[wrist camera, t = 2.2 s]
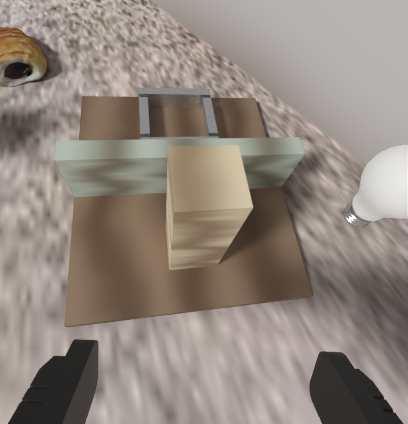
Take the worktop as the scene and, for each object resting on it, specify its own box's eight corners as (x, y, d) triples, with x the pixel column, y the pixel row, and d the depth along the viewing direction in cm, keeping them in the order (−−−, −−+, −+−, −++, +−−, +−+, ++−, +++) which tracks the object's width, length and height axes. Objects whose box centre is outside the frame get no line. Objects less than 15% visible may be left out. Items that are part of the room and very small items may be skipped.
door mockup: (253, 104, 39) (270, 56, 32) (308, 297, 27) (350, 281, 21) (84, 102, 35) (67, 48, 28) (68, 327, 23) (34, 318, 17)
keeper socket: (206, 101, 36) (209, 88, 34) (216, 154, 32) (219, 143, 31) (139, 101, 35) (138, 87, 33) (142, 156, 31) (140, 144, 29)
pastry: (-18, 45, 37) (-36, 15, 34) (36, 37, 39) (24, 7, 36) (-3, 93, 34) (-21, 64, 30) (55, 81, 36) (44, 53, 33)
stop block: (210, 222, 28) (238, 145, 18) (217, 265, 27) (253, 207, 16) (165, 225, 28) (167, 146, 17) (169, 270, 26) (174, 212, 15)
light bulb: (316, 226, 31) (386, 168, 21) (333, 184, 34) (401, 116, 24) (372, 256, 30) (471, 211, 21) (384, 210, 33) (475, 152, 24)
